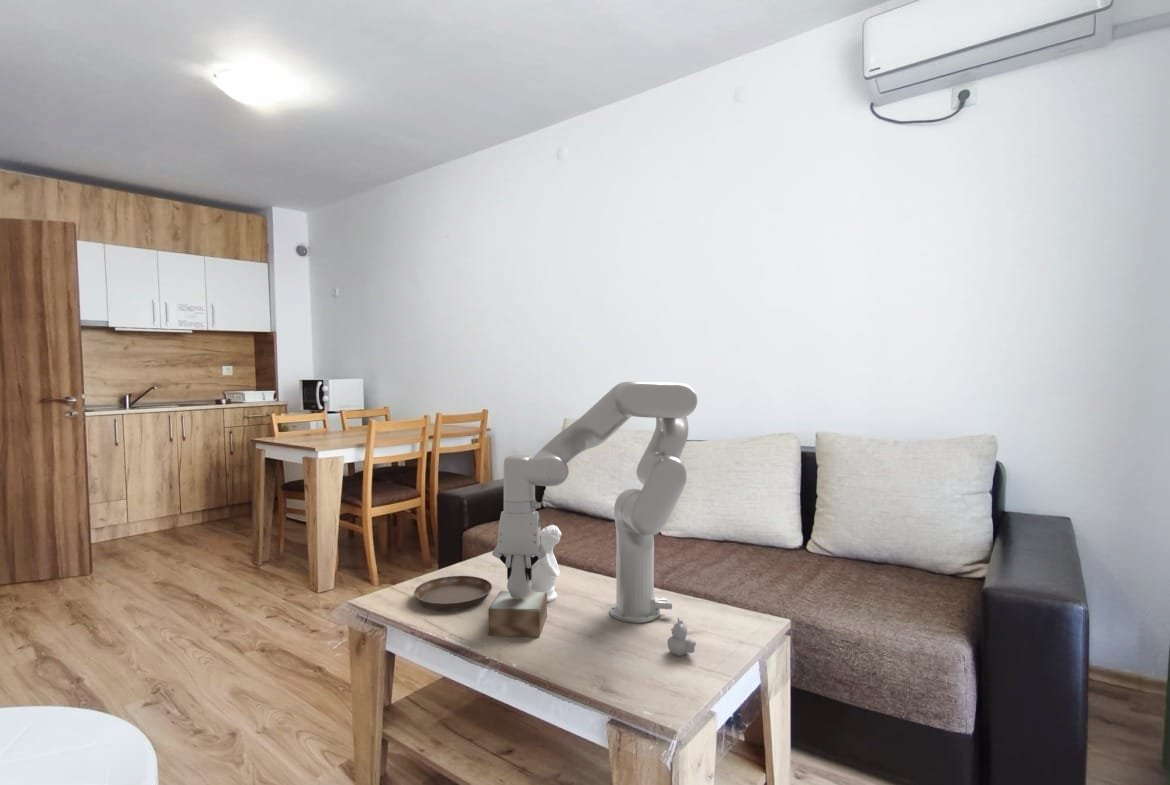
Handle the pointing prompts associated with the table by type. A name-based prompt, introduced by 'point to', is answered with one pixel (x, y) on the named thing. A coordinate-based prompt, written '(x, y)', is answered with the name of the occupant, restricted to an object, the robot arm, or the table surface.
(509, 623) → the square box
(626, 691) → the table surface
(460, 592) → the plant saucer
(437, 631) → the table surface
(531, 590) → the cherub figurine
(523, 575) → the salt shaker
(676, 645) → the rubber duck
